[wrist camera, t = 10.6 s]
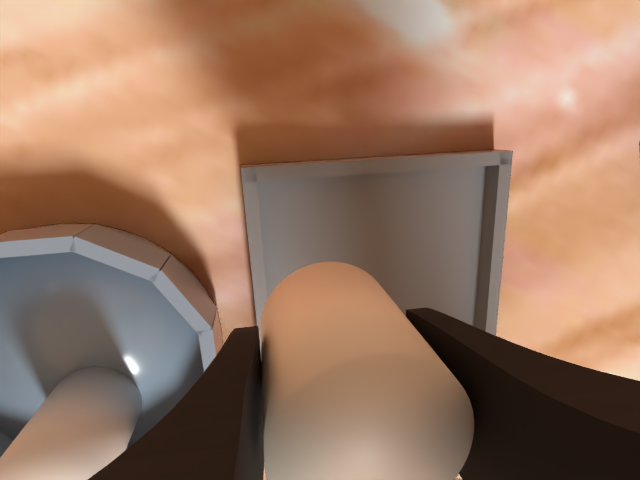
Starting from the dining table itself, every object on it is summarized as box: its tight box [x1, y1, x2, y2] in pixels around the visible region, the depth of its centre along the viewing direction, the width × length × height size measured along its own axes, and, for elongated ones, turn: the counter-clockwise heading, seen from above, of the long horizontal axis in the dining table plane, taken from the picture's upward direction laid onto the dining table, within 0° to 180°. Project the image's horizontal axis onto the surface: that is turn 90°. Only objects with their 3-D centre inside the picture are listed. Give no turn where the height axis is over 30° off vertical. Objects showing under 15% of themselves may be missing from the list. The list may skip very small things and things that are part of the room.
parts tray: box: [241, 150, 513, 351], centre depth 19 cm, size 15×12×1 cm
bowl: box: [0, 223, 223, 458], centre depth 17 cm, size 12×12×3 cm
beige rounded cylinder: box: [261, 262, 474, 480], centre depth 9 cm, size 4×4×5 cm
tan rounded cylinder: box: [0, 367, 142, 480], centre depth 16 cm, size 4×4×5 cm
